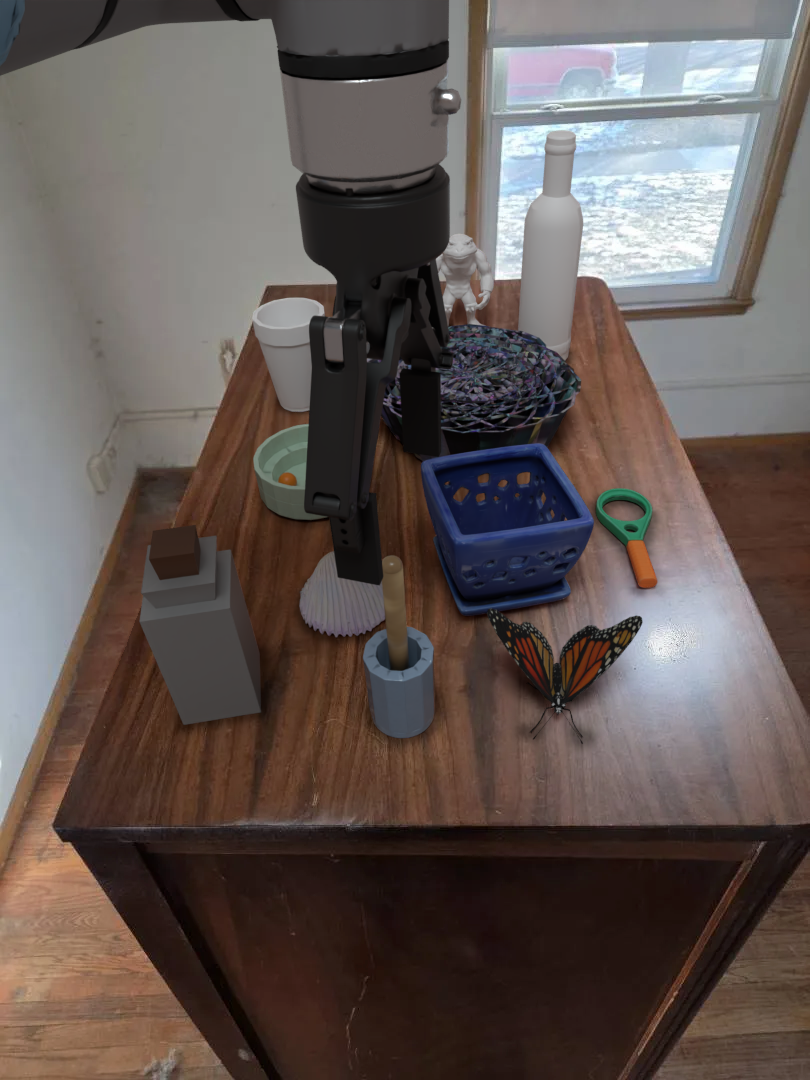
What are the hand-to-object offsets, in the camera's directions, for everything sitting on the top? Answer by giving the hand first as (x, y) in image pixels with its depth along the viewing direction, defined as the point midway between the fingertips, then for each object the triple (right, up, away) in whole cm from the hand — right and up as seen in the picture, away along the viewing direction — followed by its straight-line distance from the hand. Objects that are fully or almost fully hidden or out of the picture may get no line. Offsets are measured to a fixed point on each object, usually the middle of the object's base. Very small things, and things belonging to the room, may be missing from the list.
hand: (394, 509), depth 50 cm
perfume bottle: (-16, -16, +18) cm, 28 cm away
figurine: (+9, +31, +68) cm, 76 cm away
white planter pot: (-14, +18, +55) cm, 59 cm away
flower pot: (+10, -6, +26) cm, 29 cm away
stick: (0, -16, +14) cm, 22 cm away
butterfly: (+14, -16, +15) cm, 26 cm away
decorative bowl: (+9, +13, +48) cm, 50 cm away
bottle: (+21, +26, +61) cm, 70 cm away
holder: (+1, -17, +15) cm, 23 cm away
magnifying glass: (+25, -2, +30) cm, 39 cm away
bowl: (-10, +4, +39) cm, 41 cm away
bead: (-13, +5, +37) cm, 40 cm away
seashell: (-5, -8, +25) cm, 27 cm away
